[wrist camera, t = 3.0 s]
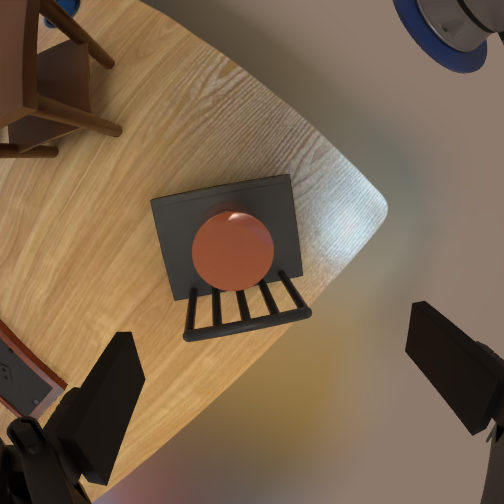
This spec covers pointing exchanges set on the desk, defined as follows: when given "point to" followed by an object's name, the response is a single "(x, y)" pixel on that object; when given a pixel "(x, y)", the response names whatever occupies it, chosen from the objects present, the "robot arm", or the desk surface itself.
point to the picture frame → (25, 378)
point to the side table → (45, 80)
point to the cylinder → (231, 247)
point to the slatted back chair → (182, 236)
